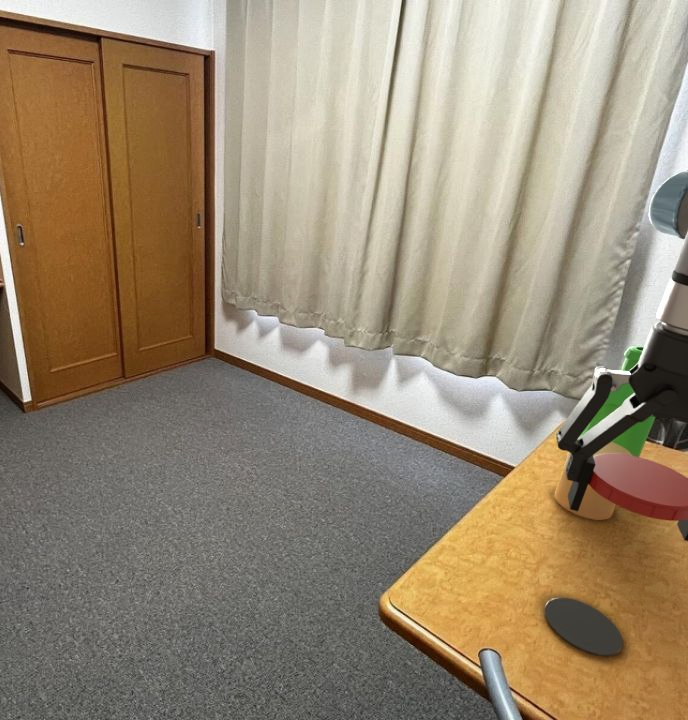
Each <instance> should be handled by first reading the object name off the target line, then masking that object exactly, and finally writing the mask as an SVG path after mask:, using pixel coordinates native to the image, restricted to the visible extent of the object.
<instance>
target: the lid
mask: <svg viewBox="0 0 688 720" xmlns="http://www.w3.org/2000/svg"><path fill="white" fill-rule="evenodd" d="M594 461H595V464H596V465H595V467H594V470H593V473H592V475H591V478H590V481H589V483H588V484H589V485H590V486H591V488H592V489H593V490H595V491H596V492H597V493H598V494H599V495H601V496H602V497H604V498H605V499H607V500H608V501H610V502H612V503H614V504H616V506H618V507H620V508H622V509H624V510H627V511H629V512H632V513H635V514H637V515H639V516H644V517H647V518H650V519H651V518H652V519H657V520H662V521H669V522H670V521H671V522H673V521H674V522H678V521H681V520H687V519H688V477H687V476H686V475H683V474H682V473H680V472H679V471H676V470H675V469H672V467H671V468H670V467H669V466H666V465H664V464H661V463H659V462H656V461H653V460H650V459H647V458H644V457H640V456H639V457H636V456H632V455H626V454H618V453H605V454H600V455H597V456H595V457H594Z"/></svg>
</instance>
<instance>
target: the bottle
mask: <svg viewBox="0 0 688 720" xmlns="http://www.w3.org/2000/svg"><path fill="white" fill-rule="evenodd" d="M643 349H644V346H640V345H635V346H628V348H627V349H626V351H624V353H623V356H624V357H625V359H624V361H623V364H622V366H621V370H620V371H627V372H629V371H630V370H631V369H632V368H633V367H635V366H636V365H637V363H638V362H639V360H640V357H641V354H642V351H643ZM632 394H634V391H633V390H632V388H631V386H630V384H623V385H621V386H620V388H619V389H618V390H617V391H615V392H610V395H609V397H608V399H607V400H606V402H605V403H604V405H603V406H602V407H601V409H600V410H599V411H598V413H597V414H596V415H595V417H594V418H593V419H592V421H591V422H590V423H589V425H588V426H587V427H586V429H585V430H584V431H583V433H582V434H581V435H580V437H581V436H582V435H584V434H585V433H586V432H588V431H589V430H590V429H592V428H593V427H594V426H595V425H597V424H598V423H599V422H601V421H602V420H603V419H605V418H606V417H607V416H608V415H610V414H611V413H612V412H614V411H615V410H616V409H618V408H619V407H620V406H621V405H622V404H623V402H624V401H625V400H626V399H627V398H628V397H630V396H631V395H632ZM655 419H656V417H653V416H652V415H651V416H650V417H649V418H647V419H646V420H645V421H643V422H638V423H636V424H635V425H633V426H632V427H631V428H629V429H628V430H627V431H625V432H624V433H622V434H621V435H620V436H618V437H617V438H616V439H614V440H613V441H611V442H614V443H616V444H618V445H620V446H622V447H624V448H625V449H627V450H628V451H629V452H630V453H631V454H632V456H636V457H640V456H641V453H642V451H643V449H644V446H645V444H646V441H647V439H648V437H649V434H650V432H651V429H652V427H653V425H654V422H655Z"/></svg>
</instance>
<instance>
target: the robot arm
mask: <svg viewBox="0 0 688 720" xmlns="http://www.w3.org/2000/svg"><path fill="white" fill-rule="evenodd" d="M648 219H649V222H650V225H651V226H652V227H653V228H654V229H656V230H657V231H658V232H660V233H662V234H667V235H670V236H675V237H677V238H679V239H681V240H684V241H683V243H682V245H681V249H680V252H679V255H678V258H677V260H676V263H675V266H674V269H673V271H672V273H671V275H670V276H671V277H670V279H669V282H668V284H667V286H666V289H665V292H664V294H663V297H662V300H661V302H660V305H659V307H658V309H657V312H656V314H655V315H656V316H655V317H656V318H657V319H658V320H659V321H658V322H656V323H655V324H652V325H651V328H650V331H649V333H648V335H647V339H646V341H645V344H644V346H643V347H644V349H643V351H642V354H641V357H640V360H639V362H638V363H637V365H636V366H635V367H633V368H632V369H631V370H630V371H629V372H627V371H621V370H613V369H612V370H611V369H609V368H608V367H606V366H604V365H599V366H596V367H595V368H594V370H593V376H592V380H591V385H590V386H589V387H588V389H587V390H586V391H585V393H584V394H583V396H582V397H581V398H580V400H579V401H578V403H577V404H576V406H575V407H574V408H573V410H572V411H571V412H570V414H569V415H568V417H567V418H566V420H565V421H564V422H563V423H562V425H561V426H560V427H559V429H558V431H557V432H556V433H555V438H556V444H557V448H558V449H559V450H561V451H563V452H564V451H565V452H567V453H568V452H570V453H571V455H570V458H569V461H568V464H567V467H566V474H567V479H568V480H570V481H573V482H572V485H571V488H570V490H569V493H568V501H569V506H570V509H571V510H575V511H578V510H579V508H580V505H581V502H582V499H583V497H584V494H585V491H586V489H587V486H588V483H589V481H590V478H591V475H592V473H593V470H594V467H595V465H596V464H595V461H594V457H593V455H594V454H595V453H596V452H598V451H599V450H600V449H602V448H603V447H605V446H606V445H607V444H609V443H610V442H611V441H613V440H614V439H616V438H617V437H618V436H620V435H621V434H622V433H624V432H625V431H627V430H628V429H629V428H631V427H632V426H633V425H635V424H636V423H638V422H643V421H645V420H646V419H647V418H649V417H650V416H651V415H652V416H653V417H655V418H659V419H674V420H677V421H679V422H682V423H685V424H688V169H686V170H683V171H679V172H677V173H675V174H673V175H672V176H670V177H668V178H667V179H666V180H665V181H664V182H662V183H661V184H660V185H659V187H657V189H656V190H655V192H654V194H653V195H652V196H651V199H650V203H649V207H648ZM623 384H630V386H631V388H632V390H633V391H634V394H632V395H631V396H630V397H628V398H627V399H626V400H625V401H624V402H623V404H622V405H621V406H620V407H619V408H618V409H616V410H615V411H614V412H612V413H611V414H610V415H608V416H607V417H606V418H605V419H603V420H602V421H601V422H599V423H598V424H597V425H595V426H594V427H593V428H592V429H590V430H589V431H588V432H586V433H585V434H584V435H582V436H581V437H580V435H581V434H582V433H583V431H584V430H585V429H586V427H587V426H588V425H589V423H590V422H591V421H592V419H593V418H594V417H595V415H596V414H597V413H598V411H599V410H600V409H601V407H602V406H603V405H604V403H605V402H606V400H607V399H608V397H609V395H610V392H615V391H617V390H618V389H619V388H620V386H621V385H623ZM579 437H580V438H579ZM676 525H677V528H678V529H679V532H680V534H681V537H682V538H683V540H684V541H685V542H688V519H687V520H681V521H677V523H676Z"/></svg>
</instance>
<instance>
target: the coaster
mask: <svg viewBox="0 0 688 720" xmlns="http://www.w3.org/2000/svg"><path fill="white" fill-rule="evenodd" d="M543 613H544V617H545V621H546V622H547V624H548V626H549V628H551V629H552V631H553V632H554V633H555V634H556V635H557V636H558V637H559V638H561V640H563V641H564V642H566V643H567V644H569V645H570V646H571V647H573V648H575V649H578V650H579V651H581V652H583V653H586V654H589V655H592V656H597V657H613V656H616V655H618V654H619V653H620V652H621V651H622V649H623V646H624V641H623V636H622V634H621V632H620V630H619V629H618V627H617V626H616V624H614V623H613V621H612V620H611V619H610V618H609V617H608V616H606V615H605V614H604V613H603V612H601V611H600V610H598V609H597V608H595V607H593V606H592V605H590V604H588V603H586V602H583V601H580V600H578V599H574V598H569V597H555V598H551V599H550V600H548V601H547V602H546V604H545V606H544V609H543Z"/></svg>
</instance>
